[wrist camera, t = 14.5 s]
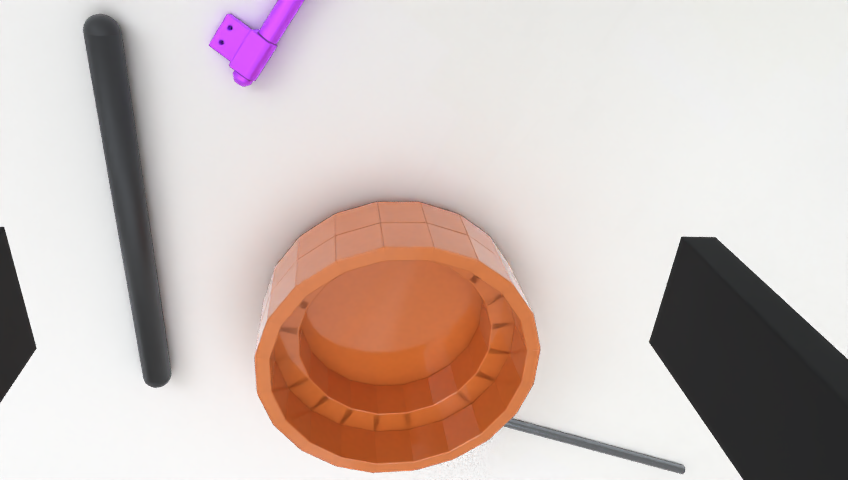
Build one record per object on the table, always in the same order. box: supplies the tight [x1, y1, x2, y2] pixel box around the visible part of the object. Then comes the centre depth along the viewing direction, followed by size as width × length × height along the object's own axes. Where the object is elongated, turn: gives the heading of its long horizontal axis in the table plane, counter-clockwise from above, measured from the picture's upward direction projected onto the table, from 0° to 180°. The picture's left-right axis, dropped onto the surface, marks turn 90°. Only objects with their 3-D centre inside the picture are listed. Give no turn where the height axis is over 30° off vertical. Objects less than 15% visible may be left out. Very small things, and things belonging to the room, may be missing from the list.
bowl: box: [254, 202, 540, 473], centre depth 37 cm, size 16×16×6 cm
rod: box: [504, 418, 685, 474], centre depth 48 cm, size 1×19×1 cm, turn 64°
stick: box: [83, 14, 171, 388], centre depth 34 cm, size 20×2×10 cm
